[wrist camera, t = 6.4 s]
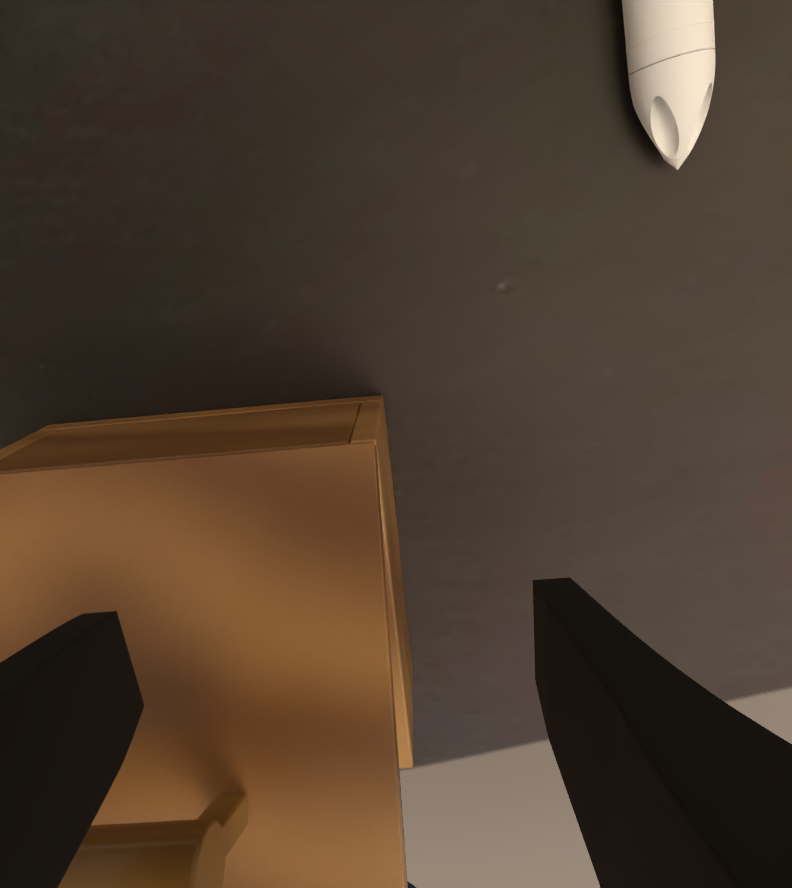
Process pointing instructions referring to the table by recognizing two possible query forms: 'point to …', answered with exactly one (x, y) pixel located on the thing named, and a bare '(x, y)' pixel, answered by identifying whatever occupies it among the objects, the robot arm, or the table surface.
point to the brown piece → (227, 661)
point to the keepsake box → (244, 435)
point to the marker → (670, 70)
